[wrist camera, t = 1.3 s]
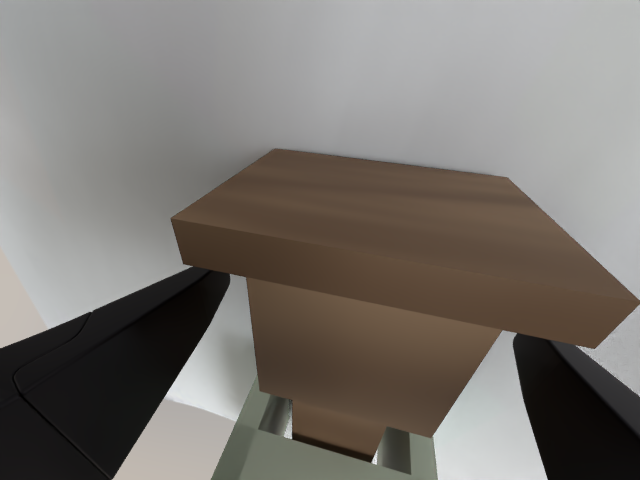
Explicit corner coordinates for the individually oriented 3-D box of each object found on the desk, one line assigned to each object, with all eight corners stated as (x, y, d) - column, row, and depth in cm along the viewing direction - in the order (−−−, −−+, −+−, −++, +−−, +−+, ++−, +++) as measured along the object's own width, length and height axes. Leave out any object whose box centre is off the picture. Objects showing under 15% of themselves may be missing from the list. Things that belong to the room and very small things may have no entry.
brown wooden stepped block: (275, 148, 9) (170, 217, 5) (507, 177, 8) (641, 302, 4) (283, 414, 19) (252, 512, 14) (385, 443, 17) (383, 558, 13)
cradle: (444, 344, 12) (485, 565, 7) (392, 447, 18) (392, 606, 13) (269, 305, 13) (186, 464, 8) (276, 414, 20) (231, 545, 14)
